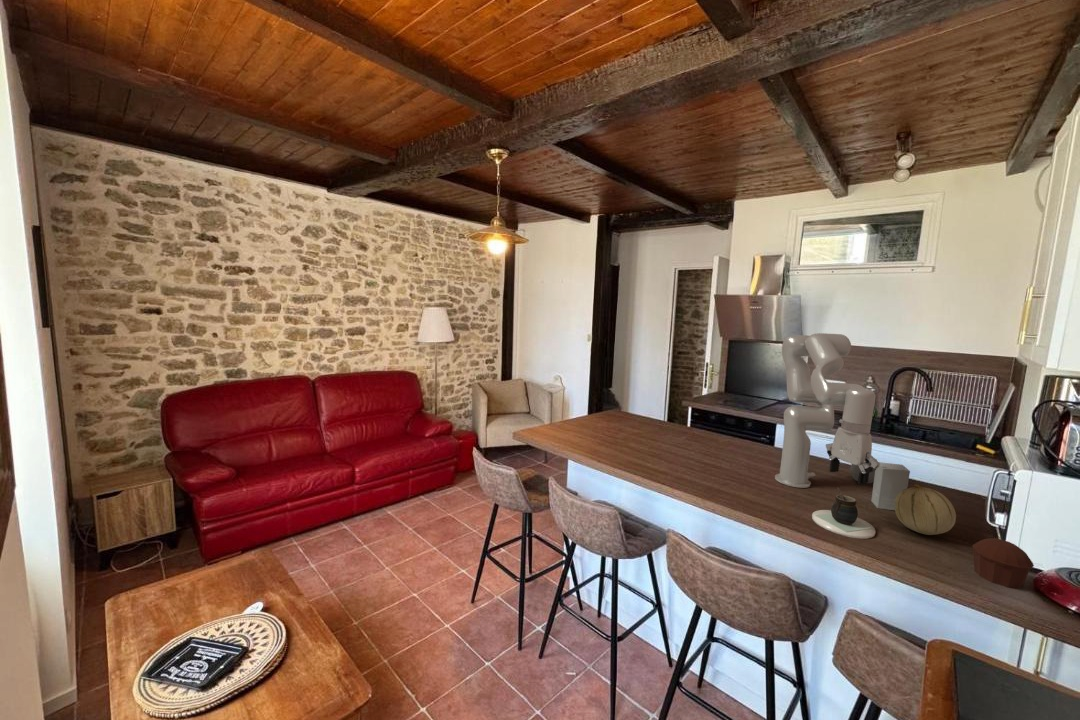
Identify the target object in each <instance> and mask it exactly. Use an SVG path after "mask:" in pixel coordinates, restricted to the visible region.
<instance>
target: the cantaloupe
mask: <svg viewBox="0 0 1080 720" xmlns="http://www.w3.org/2000/svg"><path fill="white" fill-rule="evenodd" d="M894 511H895V516H896V517H897V518H898V520H899V521H900V522H901V524H903V525H904V526H905V527H906V528H908V529H909V530H911V531H913V532H916V533H917V534H918V533H919V534H922V535H927V536H934V535H940V534H945V533H948V532H949V531H950V530H951V529H953V527H954V526H955V524H956V519H957V514H956V510H955V507H954V505H953V504H952V502H951V501H950V500H949V498H947V497H946V496H945V495H944V494H942V493H941V492H939V491H937V490H935V489H934V488H933V489H932V488H929V487H926V486H925V487H923V486H920V485H918V484H914V485H913V487H909V488H907V489H905V490H903V491H901V492H900V493H899V494H898V496H897V497H896V500H895V510H894Z"/></svg>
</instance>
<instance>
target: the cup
mask: <svg viewBox="0 0 1080 720" xmlns="http://www.w3.org/2000/svg"><path fill="white" fill-rule="evenodd" d="M868 465H869V466H871V465H872V464H871V462H870V463H869V464H868ZM863 466H864V465H863ZM849 472H850V474H851V476H852V479H853V480H854V481H856V482H858V477H859V473H860V472H861V470H860V468H859V466H858V465H853V464H851V465H850V468H849ZM874 476H875V471H873V472H871V473H869V478H868V482H867V484H872V483H874ZM867 484H866V485H867Z"/></svg>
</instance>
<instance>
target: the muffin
mask: <svg viewBox="0 0 1080 720" xmlns="http://www.w3.org/2000/svg"><path fill="white" fill-rule="evenodd" d="M972 549H973V550H972V551H973V565H974V566H973V570H974V572H975V573H976V574H977V575H978V576H979V577H980V578H982V579H984V580H987V581H988V582H990V583H992V584H994V585H995V584H996V585H1000V586H1002V587H1005V588H1010V589H1020V588H1021V587H1022V586H1024V583H1025V580H1026V578H1027V577H1028V575H1029V572H1030V570H1031V569H1033V567H1035V565H1034V562H1033V561H1032V559H1031V558H1030V557H1029V555H1028V554H1027V552H1025V551H1024V550H1023V549H1022V548H1021V547H1019V546H1018V545H1016V544H1014V543H1012V542H1010V541H1007V540H1005V539H1000V538H995V537H994V538H990V537H989V538H984V539H981V540H979V541H977V542H975V543H973V544H972Z"/></svg>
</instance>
